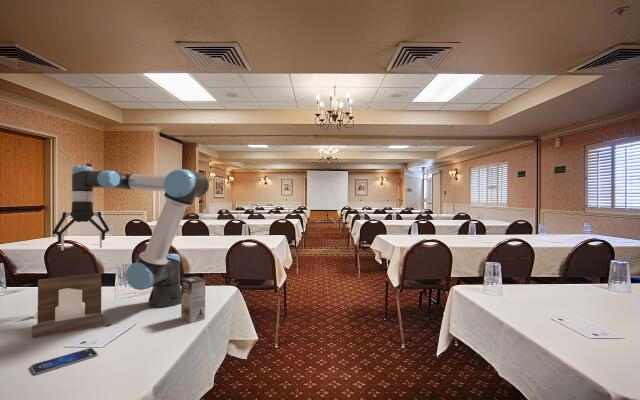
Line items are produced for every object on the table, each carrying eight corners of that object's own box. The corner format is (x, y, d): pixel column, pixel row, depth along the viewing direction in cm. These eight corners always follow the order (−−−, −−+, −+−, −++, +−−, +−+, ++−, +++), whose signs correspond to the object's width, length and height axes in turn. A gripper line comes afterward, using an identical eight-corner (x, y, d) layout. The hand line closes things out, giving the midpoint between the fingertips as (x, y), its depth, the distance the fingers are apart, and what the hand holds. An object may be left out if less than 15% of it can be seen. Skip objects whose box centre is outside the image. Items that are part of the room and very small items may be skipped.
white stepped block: (90, 318, 125) (90, 288, 125) (65, 327, 116) (65, 294, 117) (74, 316, 128) (74, 286, 128) (49, 324, 119) (49, 292, 119)
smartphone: (99, 354, 97) (34, 374, 86) (99, 357, 97) (33, 377, 86) (92, 346, 102) (29, 364, 91) (91, 349, 102) (29, 368, 91)
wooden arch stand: (101, 325, 122) (102, 279, 122) (32, 337, 111) (32, 287, 111) (101, 314, 134) (101, 273, 134) (37, 325, 122) (38, 279, 122)
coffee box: (180, 317, 130) (180, 278, 130) (195, 313, 135) (195, 275, 135) (190, 323, 124) (190, 282, 124) (206, 319, 128) (206, 279, 129)
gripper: (44, 200, 132) (44, 252, 131) (116, 201, 146) (115, 247, 146) (46, 201, 138) (46, 250, 137) (115, 201, 152) (114, 245, 152)
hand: (82, 248), depth 142 cm, fingers open, 13 cm apart
